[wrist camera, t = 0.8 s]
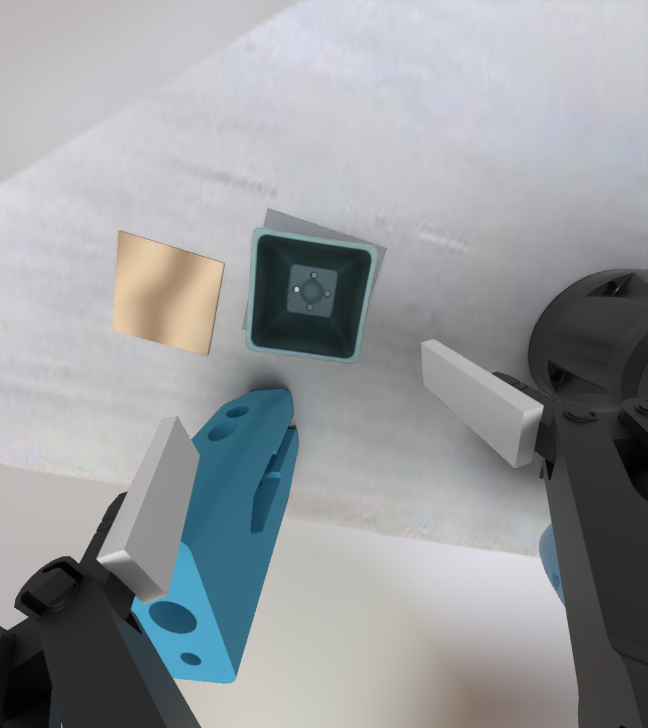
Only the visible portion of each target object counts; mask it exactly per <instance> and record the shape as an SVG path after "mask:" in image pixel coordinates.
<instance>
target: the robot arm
mask: <svg viewBox="0 0 648 728" xmlns="http://www.w3.org/2000/svg"><path fill="white" fill-rule="evenodd" d="M421 354H422V373H423V385H424V386H425V387H426V388H427V389H428V390H429V391H431V392H432V393H433V394H434V395H435V396H436V397H437V398H438V399H439V400H440V401H441V402H443V403H444V404H445V405H446V406H447V407H448V408H449V409H450V410H451V411H452V412H453V413H455V414H456V415H457V416H458V417H459V418H460V419H461V420H462V421H463V422H464V423H466V424H467V425H468V426H469V427H470V428H471V429H472V430H473V431H474V432H475V433H476V434H478V435H479V436H480V437H481V438H482V439H483V440H484V441H485V442H486V443H487V444H488V445H490V446H491V447H492V448H493V449H494V450H495V451H496V452H497V453H498V454H499V455H501V456H502V457H503V458H504V459H505V460H506V461H507V462H508V463H509V464H510V465H511V466H513V467H514V468H515V469H516V468H519V467H522V466H524V465H527V464H530V463H532V462H533V458H534V453H535V451H536V452H537V453H539V454H540V455H541V456H542V457H544V458H543V463H542V468H541V472H540V478H541V479H543V477H545V484H546V490H547V496H548V502H549V508H550V515H551V521H552V523H551V524H550V525H549V526H548V527H547V529H546V530H545V531H544V532H543V534H542V535H541V538H540V542H539V552H540V557H541V560H542V564H543V566H544V569H545V572H546V574H547V576H548V578H549V580H550V582H551V584H552V586H553V587H554V589H555V590H556V592H557V594H558V596H559V598H560V600H561V602H562V603H563V605H564V606H565V608H566V613H567V620H568V626H569V633H570V639H571V645H572V651H573V657H574V664H575V670H576V676H577V683H578V693H579V704H578V725H579V728H648V270H638V269H615V270H608V271H603V272H599V273H596V274H593V275H591V276H588V277H586V278H584V279H582V280H580V281H579V282H577V283H575V284H574V285H572V286H571V287H569V288H568V289H567V290H565V291H564V292H563V293H562V294H560V295H559V296H558V297H557V298H556V299H555V300H554V301H553V302H552V303H551V305H550V306H549V307H548V308H547V310H546V311H545V312H544V314H543V315H542V317H541V318H540V320H539V322H538V324H537V326H536V328H535V330H534V333H533V336H532V339H531V343H530V349H529V364H530V369H531V372H532V375H533V377H534V379H535V381H536V382H537V384H538V385H539V386H540V387H541V388H542V389H543V390H544V391H545V392H546V393H548V394H549V395H551V396H553V397H555V398H556V399H558V400H560V401H562V402H564V403H566V404H563V405H560V404H559V403H557V402H555V401H553V400H552V399H550V398H548V397H546V396H545V395H543V394H541V393H539V392H538V391H536V390H534V389H532V388H531V387H530V388H529V387H528V386H527V385H525V384H524V383H520V381H518V380H517V379H515V378H513V377H511V376H509V375H506V374H503V373H499V372H494V373H489V372H488V371H486V370H484V369H483V368H481V367H479V366H478V365H476V364H474V363H473V362H471V361H469V360H468V359H466V358H465V357H463V356H461V355H460V354H458V353H456V352H455V351H453V350H451V349H450V348H448V347H446V346H445V345H443V344H442V343H440V342H438V341H437V340H435V339H431V340H428V341H425V342H421ZM598 412H600V413H598ZM199 458H200V455H199V453H198V451H197V449H196V448H195V446H194V444H193V442H192V441H191V439H190V437H189V435H188V434H187V432H186V430H185V428H184V427H183V425H182V423H181V422H180V420H179V418H178V416H175V417H172V418H169V419H165V420H162V421H161V423H160V425H159V427H158V429H157V431H156V433H155V436H154V438H153V440H152V442H151V444H150V446H149V448H148V450H147V453H146V455H145V457H144V459H143V461H142V463H141V465H140V467H139V469H138V472H137V474H136V476H135V478H134V480H133V482H132V484H131V486H130V489H129V491H127V492H124V493H121V494H119V495H118V497H117V498H116V499H115V500H114V501H113V502H112V504H111V505H110V506H109V507H108V509H107V511H106V513H105V515H104V517H103V519H102V522H101V523H100V525H99V527H98V529H97V533H96V534H94V536H93V538H92V540H91V542H90V544H89V546H88V548H87V550H86V552H85V554H84V556H83V558H82V560H81V561H80V563H77V562H76V561H75V560H74V559H73V558H71V557H70V556H64V557H60V558H58V559H55V560H53V561H51V562H50V563H48V564H47V565H45V566H44V567H42V568H41V569H40V570H38V571H37V572H36V573H35V574H34V575H33V576H32V577H31V578H30V579H29V580H28V581H27V582H26V584H25V585H24V586H23V587H22V588H21V590H20V592H19V594H18V595H17V597H16V600H15V606H14V608H16V609H17V610H20V611H21V612H22V613H24V614H25V615H27V616H28V618H27V619H25V620H24V621H22V622H20V623H19V624H17V625H16V626H14V627H12V628H11V629H9V630H6V629H4V628H2V627H1V626H0V728H61V722H62V726H63V728H201V726H200V725H199V723H198V721H197V720H196V718H195V716H194V714H193V713H192V711H191V709H190V708H189V706H188V704H187V703H186V701H185V699H184V697H183V695H182V694H181V692H180V690H179V688H178V687H177V685H176V684H175V681H174V680H173V678H172V676H171V674H170V673H169V671H168V669H167V668H166V666H165V664H164V662H163V661H162V659H161V657H160V655H159V654H158V652H157V650H156V648H155V647H154V645H153V643H152V642H151V640H150V638H149V636H148V635H147V633H146V631H145V629H144V628H143V626H142V624H141V622H140V621H139V619H138V617H137V615H136V614H135V613H134V612H133V611H132V610H131V608H132V605H133V601H134V598H135V596H136V597H137V598H138V599H139V600H140V601H141V602H142V603H143V604H147V603H150V602H152V601H155V600H158V599H161V598H163V597H166V596H168V593H169V588H170V584H171V580H172V575H173V571H174V567H175V562H176V558H177V554H178V549H179V545H180V541H181V536H182V532H183V527H184V523H185V519H186V514H187V510H188V506H189V501H190V497H191V493H192V488H193V484H194V480H195V475H196V471H197V467H198V462H199Z"/></svg>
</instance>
